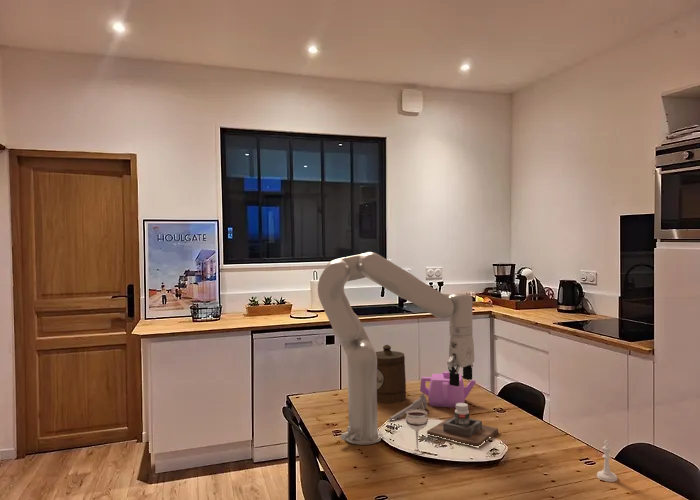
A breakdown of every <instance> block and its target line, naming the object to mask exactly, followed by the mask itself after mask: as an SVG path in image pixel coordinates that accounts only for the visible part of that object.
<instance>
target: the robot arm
mask: <svg viewBox="0 0 700 500" xmlns="http://www.w3.org/2000/svg"><path fill="white" fill-rule="evenodd" d="M365 278H367V279H369V280H371V281H372V282H374V283H375V284H377V285H379V286H381V288H382V287H383V288H384V289H385V290H387V291H389V292H391V294H392V293H393V294H394V295H395V296H397V297H399V298H401V299H403V300H406V301H408V302H410V303H411V304H413V305H415V306H417V307H419V308H420V309H422V310H424V311H425V312H427V313H428V314H430V315H432V316H434V317H435V318H437V319H439V320H440V319H447V318H449V322H448V323H449V324H448V325H449V328H448V329H449V336H450V337H449V349H448V360H447V363H446V364H447V369H448V372H449V373H450V385H453V386H459V375H460V373H459V371H460V368H461V369H462V379H463V380H468V381H471V380H473V367H474V365H473V363H474V362H475V347H474V346H475V345H474V344H475V343H474V337H473V296H472V295H470V294H468V293H452V294H450V293H442V292H441V291H438V290H437V289H435V288H434V287H433V286H430V285H429V284H428V283H427V284H426V283H425V282H424V281H422V280H420V279H419V278H418V277H417V276H415V275H414V274H412V273H410V272H409V271H407V270H405V269H404V268H402V267H401V266H398V265H396V263H393V262H392V261H390V260H389V259H387V258H385V257H383V256H381V255H380V254H378V253H377V252H372V251H367V252H364V253H363V252H362V253H360V254H355V255H350V256H346V257H345V256H344V257H340V258H335V259H333V260H330V261H329V262H328V263H327V264H326V266H325V268H324V270H323V271H322V273H321V275H320V276H319V279H318V283H317V295H318V296H317V297H318V299H319V302H320V304H321V306H322V308H323V310H324V312H325V315H326V317H327V319H328V321H329V323H330V325H331V328H332V330H333V333H334V335H335V337H336V338H338V339H337V340H338V341H339V342H340V345H341V347H342V348H343V350H344V352H345V355H346V359H347V394H348V395H347V397H348V399H347V401H348V402H347V403H348V426H347V427H346V428H347V429H346V431H345V432H343V433H341V434H340V439H341V440H342V441H346V442H348V443H350V444H353V445H359V446H367V445H373V444H376V443H379V442H380V441H382V440H381V437H382V436H383V433H382V431H381V430H378V429H379V428H378V425H379V423H378V422H379V421H378V402H377V355H376V352H377V351H376V350H375V347H374V345H373V344H372V342H371V340H370V338H369V336H368V334H367V332H366V331H365V327H364V326H363V325H362V322H361V320H360V318H359V316H358V315H357V314H356V313H355V312H354V310H353V308H352V306H351V304H350V302H349V298H347V295H346V293H345V285H346V283H348V282H350V281H351V282H352V281H357V280H361V279H365ZM382 438H383V437H382Z"/></svg>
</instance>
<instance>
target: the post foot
mask: <svg viewBox="0 0 700 500" xmlns="http://www.w3.org/2000/svg"><path fill="white" fill-rule="evenodd" d="M498 433H499V428H498V427H494V426H490V425H485V424H483V421H482V420H480V419H474V418H471V417H469V427H463V426H459V425H455V416H453V417H448V418H447V419H445V420H443V421H441V422H440V423H438V424H437V425H435V426H433V427H432V428H429V429H427V431H426V435H427V434H430V435H434V436H439V437H442V438H446V439H450V440H454V441H457V442H461V443H465V444H469V445H473V446H479V445H481V444H482V443H483V442H484V441H485V440H487V439H488V438H489V437H492V438H493V437H495V436H496V435H497V434H498Z"/></svg>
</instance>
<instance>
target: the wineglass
mask: <svg viewBox="0 0 700 500" xmlns="http://www.w3.org/2000/svg"><path fill="white" fill-rule="evenodd" d="M427 415H428V411H426V409H424V410H421V409H420V408H417V409H411V410H408V411H406V414H405V423H406V425H407V426H408V427H409V428H410V429H412V430H414V431H415V439H416V440H415V441H416V443H415V444H416V448H417V450H419V449H418V448H419V432H420V431H421V430H423V429H424V428H425V427H426V426H427V424H428V422H429V419H428V416H427Z"/></svg>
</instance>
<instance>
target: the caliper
mask: <svg viewBox="0 0 700 500" xmlns="http://www.w3.org/2000/svg"><path fill="white" fill-rule="evenodd" d="M427 408H428V401H427V395H425V394H424V393H421V394H419V398H417V399H416V400H414V401H413V402H412V403H411V404H410V405H408V406H407V407H405V408H403V409H402V410H400V411H398V412H396V413H394V415H392V416H390V417H389V418H388V420H392V419H396V420H397V418H398V419H400V418H402V417H403V416H404V415H407V414H406V411H408V410H411V409H421V410H427Z"/></svg>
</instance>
